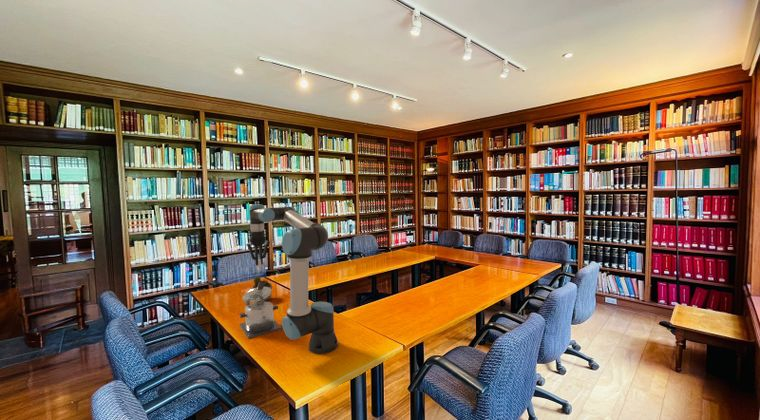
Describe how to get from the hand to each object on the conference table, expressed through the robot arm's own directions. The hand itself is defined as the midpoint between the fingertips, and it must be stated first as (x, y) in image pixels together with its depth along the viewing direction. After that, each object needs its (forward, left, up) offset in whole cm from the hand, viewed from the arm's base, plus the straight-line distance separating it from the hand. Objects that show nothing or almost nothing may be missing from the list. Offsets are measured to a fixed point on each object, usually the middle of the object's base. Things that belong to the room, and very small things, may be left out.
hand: (259, 270), depth 182 cm
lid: (+4, 0, -15) cm, 15 cm away
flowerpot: (+54, -15, -37) cm, 67 cm away
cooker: (+5, 0, -36) cm, 37 cm away
